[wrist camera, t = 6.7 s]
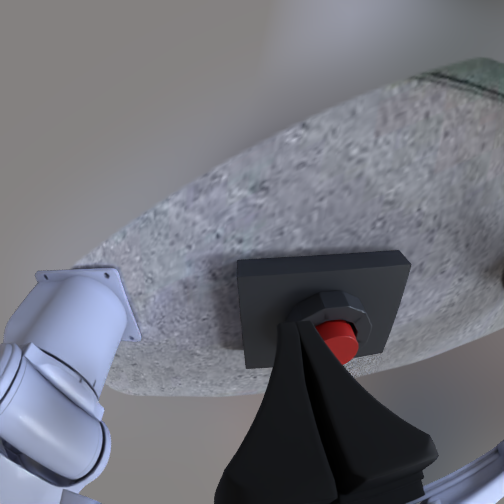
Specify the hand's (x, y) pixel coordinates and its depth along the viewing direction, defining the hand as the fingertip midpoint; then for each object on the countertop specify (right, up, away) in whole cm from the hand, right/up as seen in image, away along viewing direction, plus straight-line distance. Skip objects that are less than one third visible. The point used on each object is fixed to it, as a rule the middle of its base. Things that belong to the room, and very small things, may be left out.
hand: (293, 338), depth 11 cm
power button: (+4, -3, +9) cm, 10 cm away
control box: (+4, -1, +12) cm, 13 cm away
